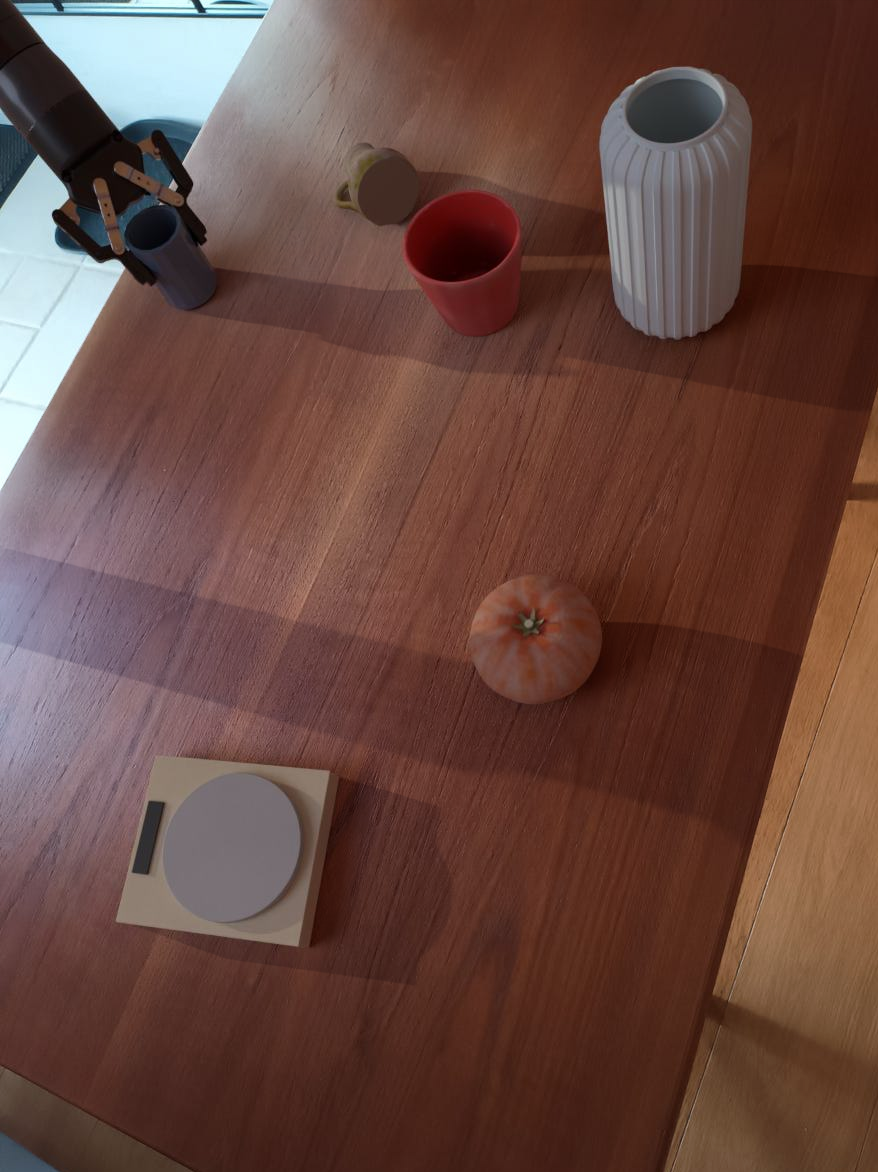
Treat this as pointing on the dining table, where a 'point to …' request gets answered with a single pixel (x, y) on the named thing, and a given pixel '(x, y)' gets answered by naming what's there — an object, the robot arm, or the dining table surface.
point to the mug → (379, 184)
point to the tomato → (535, 639)
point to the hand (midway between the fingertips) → (178, 263)
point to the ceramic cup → (171, 256)
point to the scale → (230, 850)
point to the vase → (676, 199)
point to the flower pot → (467, 259)
